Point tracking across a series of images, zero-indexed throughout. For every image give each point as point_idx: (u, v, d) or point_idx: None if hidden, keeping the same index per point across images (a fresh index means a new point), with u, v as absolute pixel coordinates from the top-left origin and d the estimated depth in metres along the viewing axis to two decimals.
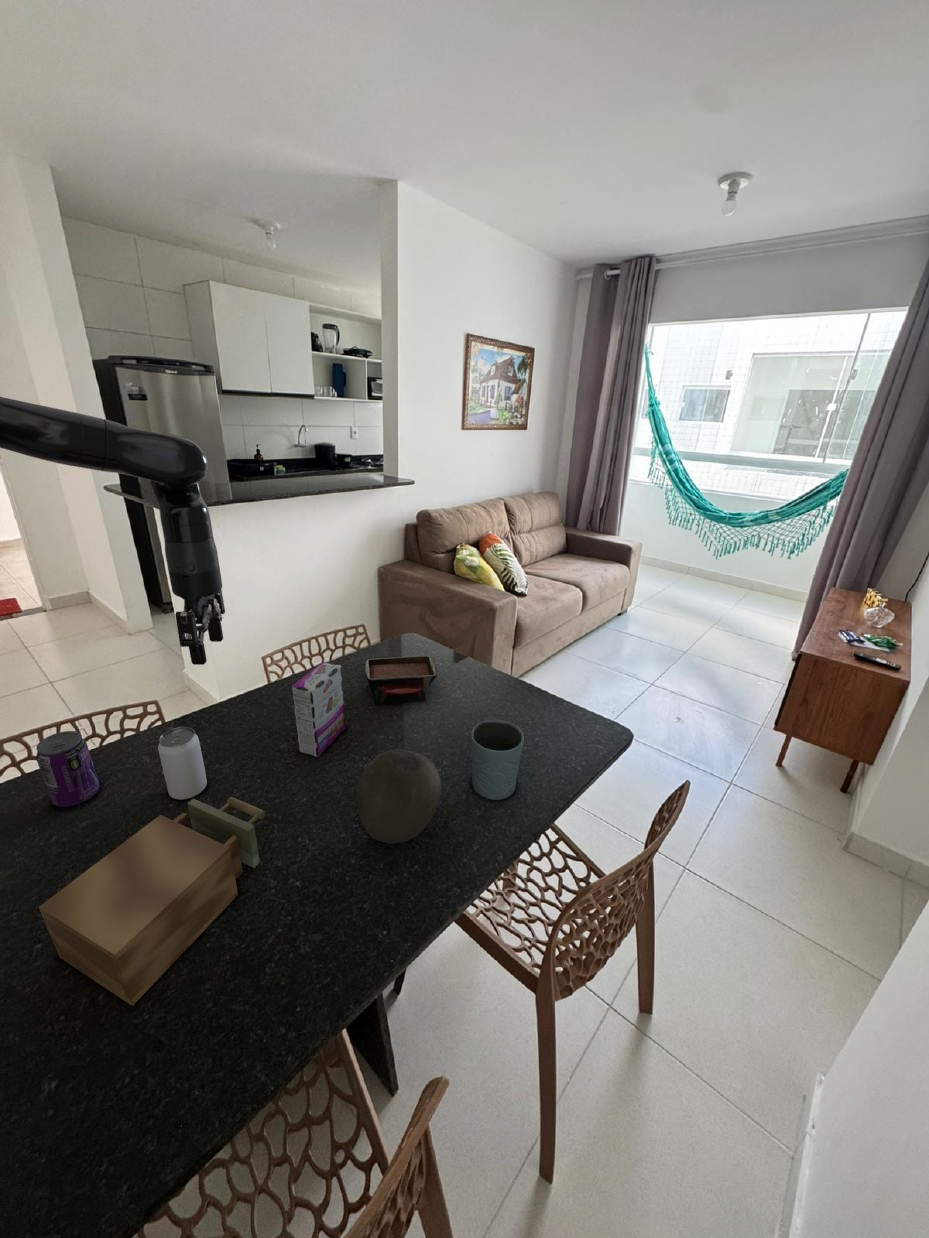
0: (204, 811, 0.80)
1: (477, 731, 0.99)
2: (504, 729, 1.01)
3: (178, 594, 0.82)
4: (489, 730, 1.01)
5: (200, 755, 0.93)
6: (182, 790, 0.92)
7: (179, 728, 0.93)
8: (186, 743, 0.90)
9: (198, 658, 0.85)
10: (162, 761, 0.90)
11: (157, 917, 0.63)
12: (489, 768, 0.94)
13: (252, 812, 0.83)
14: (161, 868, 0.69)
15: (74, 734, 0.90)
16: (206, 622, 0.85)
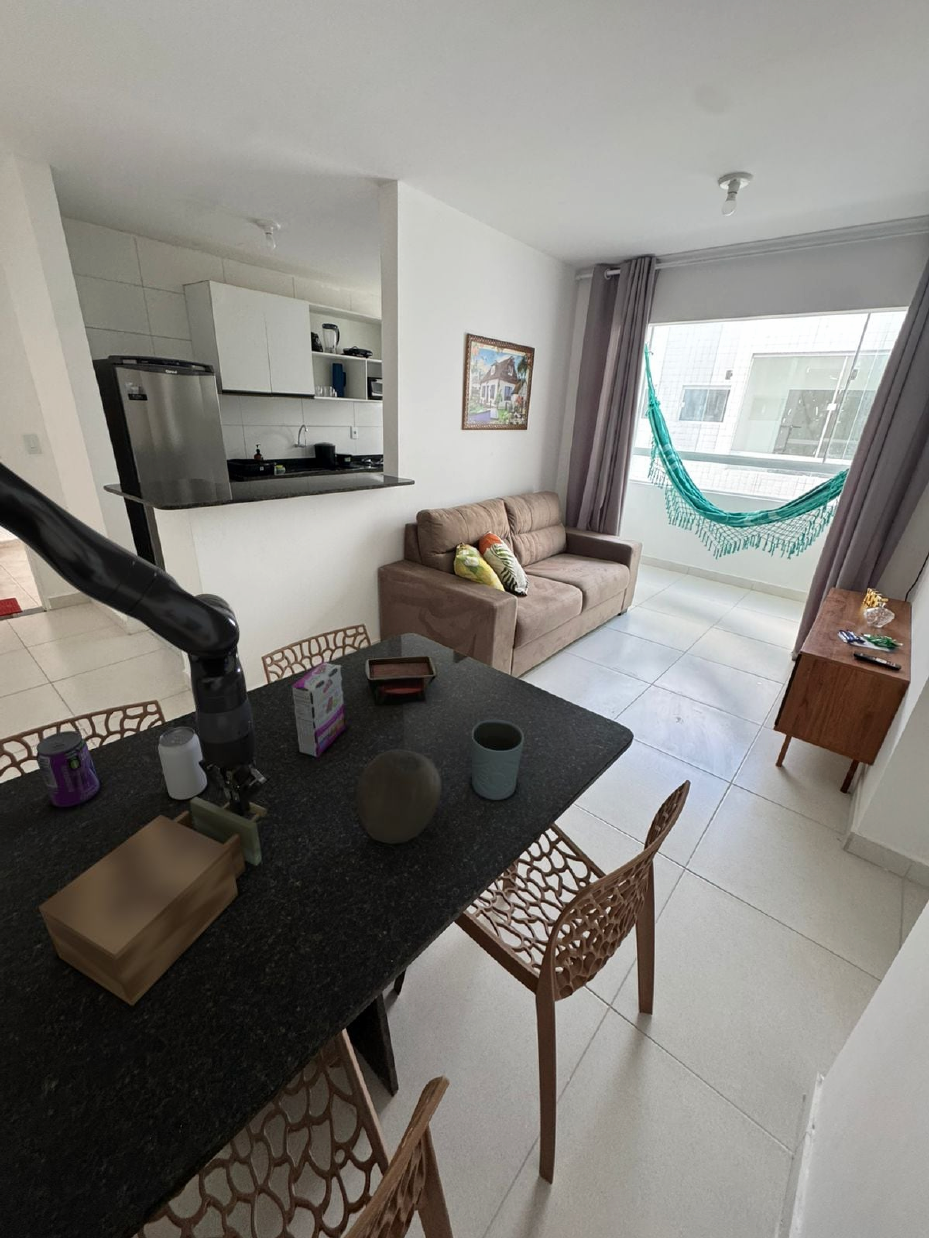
0: (206, 809, 0.80)
1: (477, 731, 0.99)
2: (504, 729, 1.01)
3: (237, 760, 0.75)
4: (489, 730, 1.01)
5: (200, 755, 0.93)
6: (182, 790, 0.92)
7: (179, 728, 0.93)
8: (186, 743, 0.90)
9: (248, 807, 0.83)
10: (162, 761, 0.90)
11: (157, 917, 0.63)
12: (489, 768, 0.94)
13: (254, 810, 0.84)
14: (161, 868, 0.69)
15: (74, 734, 0.90)
16: None
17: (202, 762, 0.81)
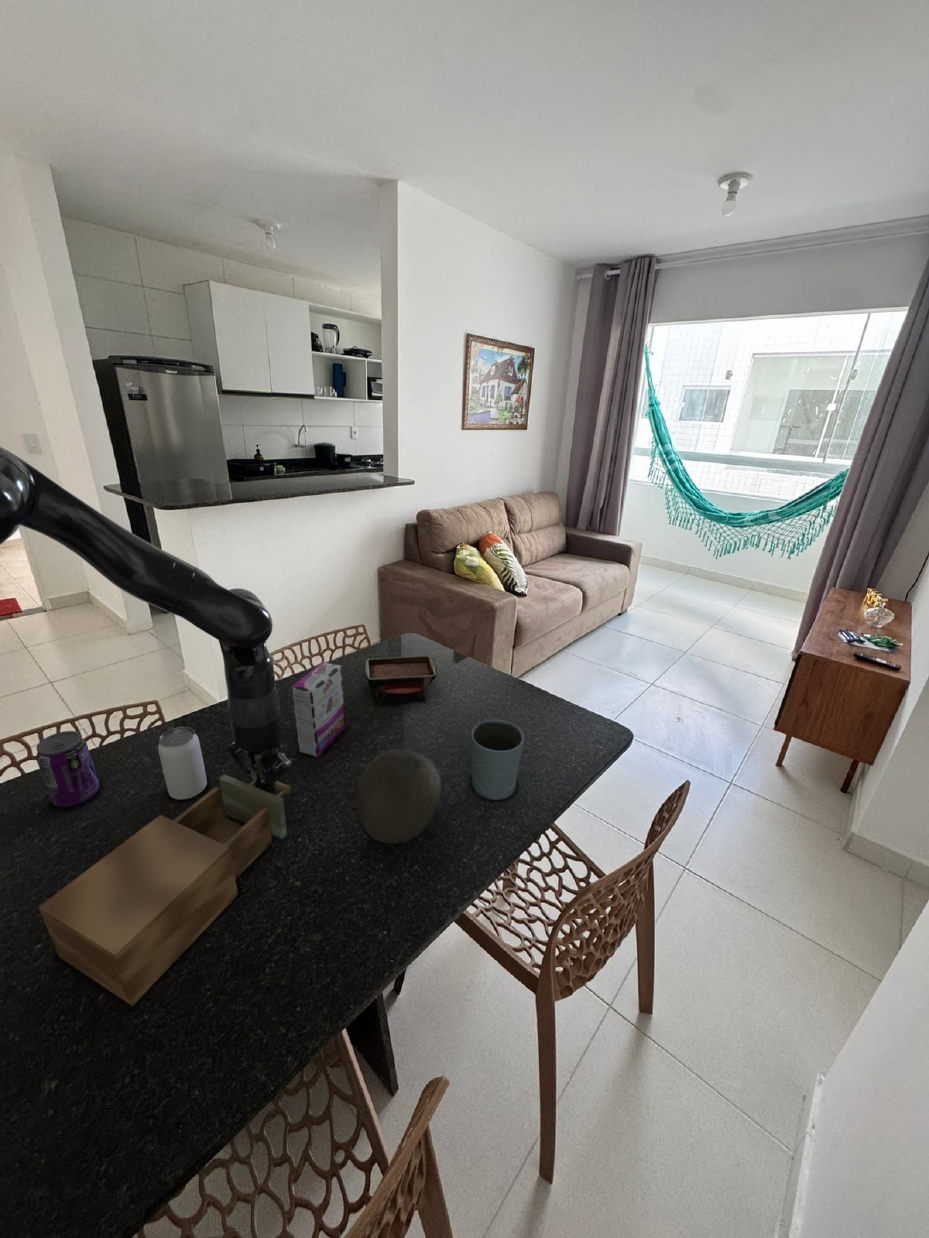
0: (235, 786, 0.85)
1: (477, 731, 0.99)
2: (504, 729, 1.01)
3: (265, 744, 0.81)
4: (489, 730, 1.01)
5: (200, 755, 0.93)
6: (182, 790, 0.92)
7: (179, 728, 0.93)
8: (186, 743, 0.90)
9: (273, 789, 0.88)
10: (162, 761, 0.90)
11: (157, 917, 0.63)
12: (489, 768, 0.94)
13: (279, 787, 0.89)
14: (161, 868, 0.69)
15: (74, 734, 0.90)
16: None
17: (231, 747, 0.86)
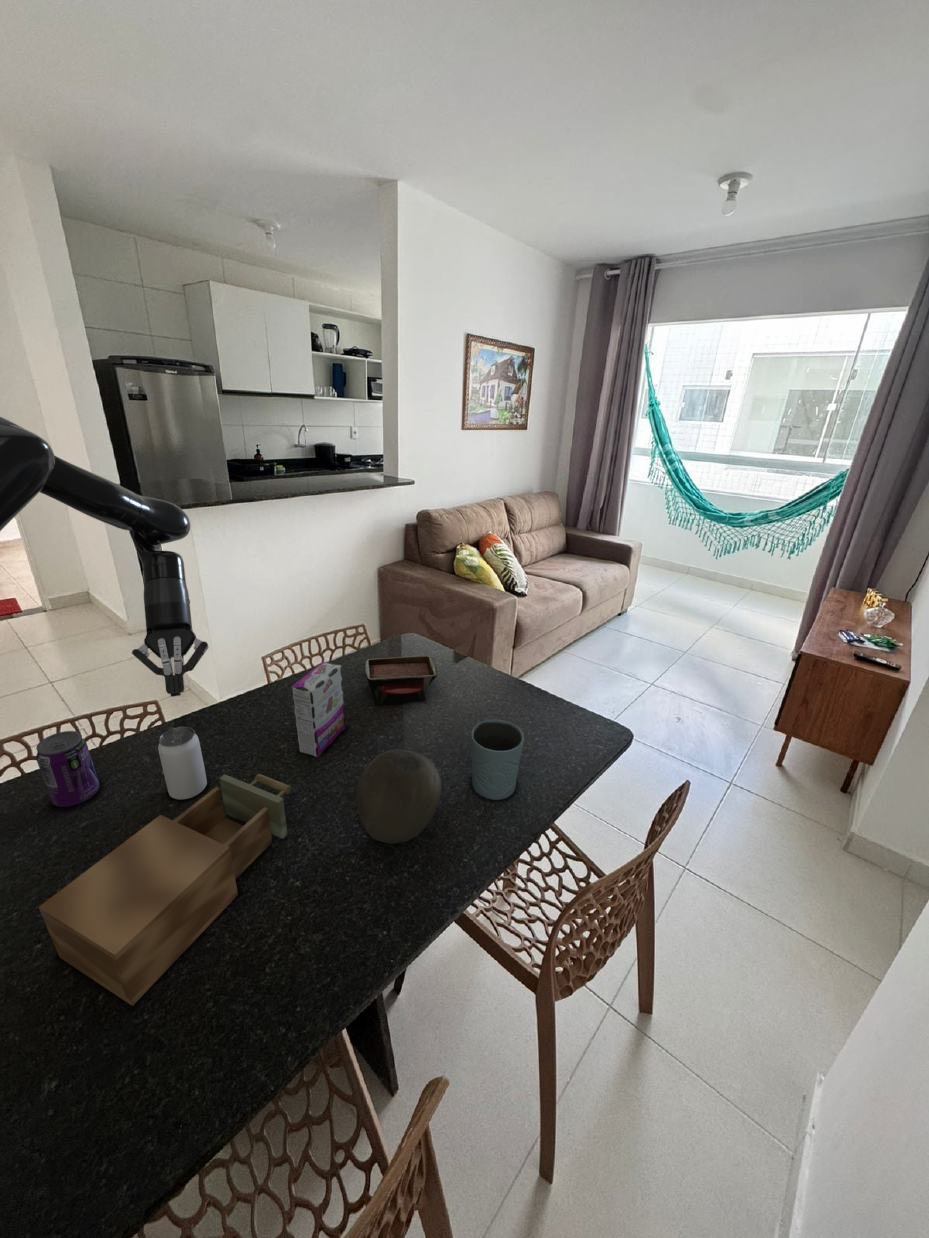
0: (235, 785, 0.85)
1: (477, 731, 0.99)
2: (504, 729, 1.01)
3: (187, 622, 0.97)
4: (489, 730, 1.01)
5: (200, 755, 0.93)
6: (182, 790, 0.92)
7: (179, 728, 0.93)
8: (186, 743, 0.90)
9: (183, 686, 0.96)
10: (162, 761, 0.90)
11: (157, 917, 0.63)
12: (489, 768, 0.94)
13: (280, 787, 0.89)
14: (161, 868, 0.69)
15: (74, 734, 0.90)
16: None
17: (137, 649, 0.93)
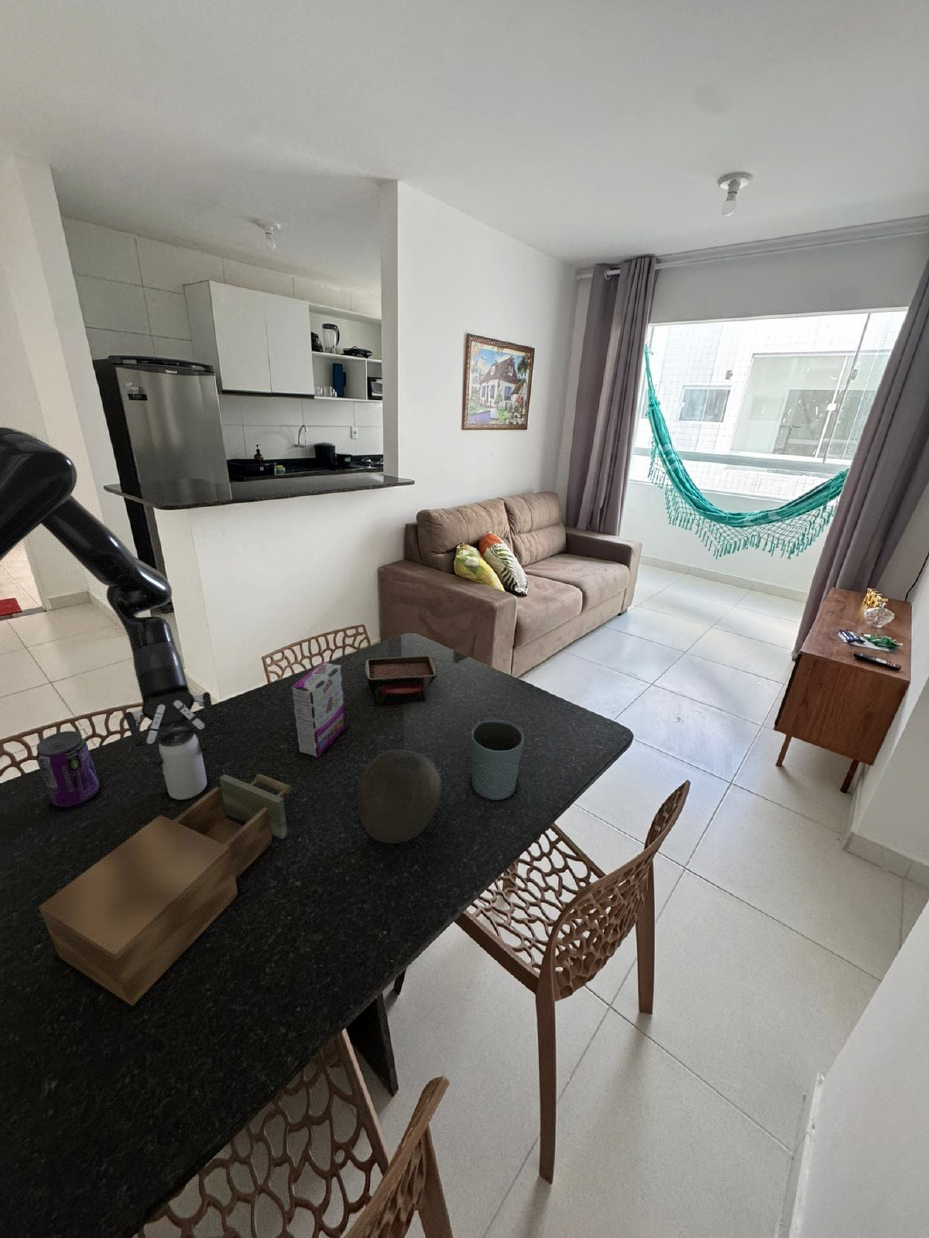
0: (235, 785, 0.85)
1: (477, 731, 0.99)
2: (504, 729, 1.01)
3: (185, 684, 0.94)
4: (489, 730, 1.01)
5: (200, 755, 0.93)
6: (182, 790, 0.92)
7: (179, 728, 0.93)
8: (186, 743, 0.90)
9: None
10: (162, 761, 0.90)
11: (157, 917, 0.63)
12: (489, 768, 0.94)
13: (280, 787, 0.89)
14: (161, 868, 0.69)
15: (74, 734, 0.90)
16: None
17: (131, 712, 0.89)
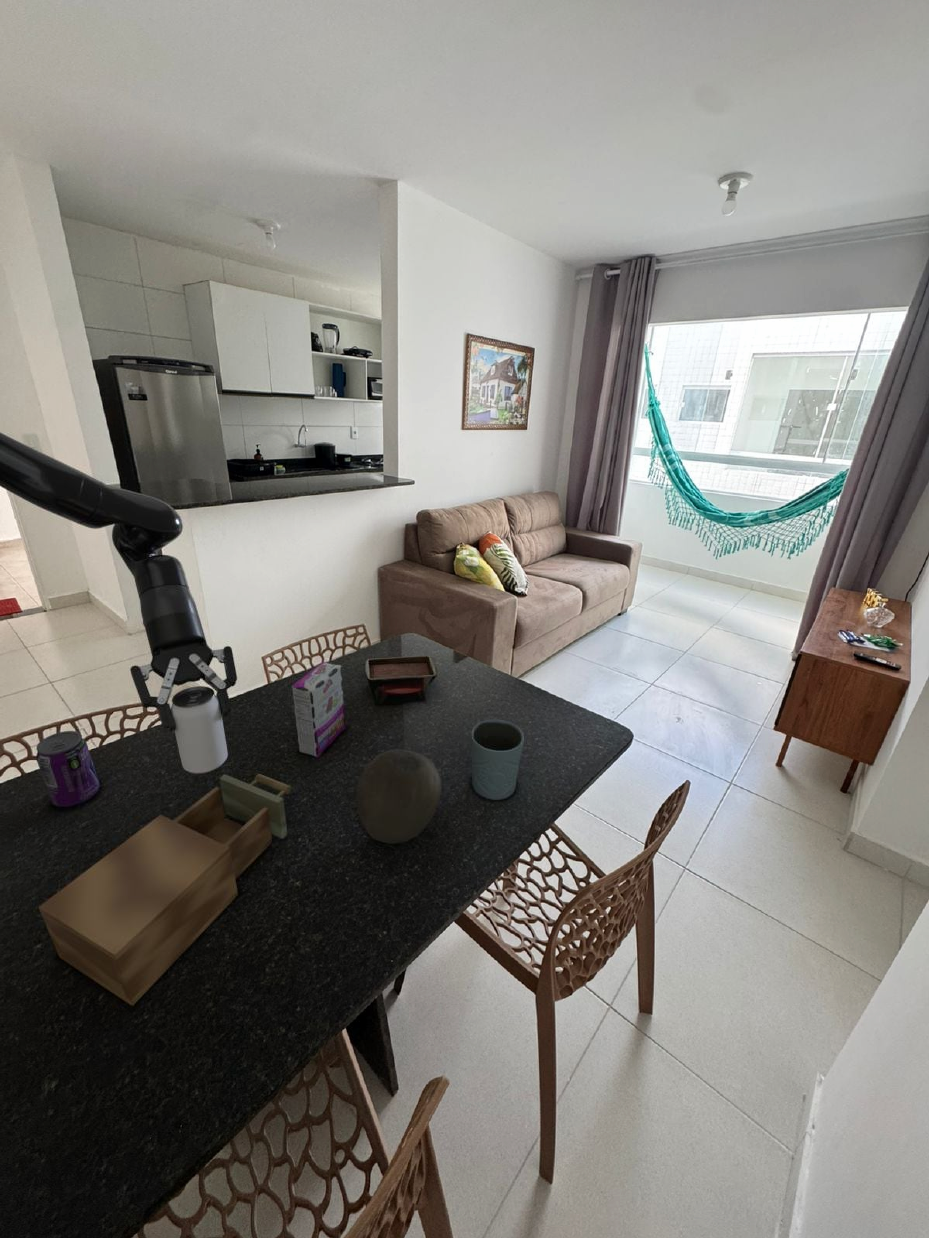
0: (235, 785, 0.85)
1: (477, 731, 0.99)
2: (504, 729, 1.01)
3: (202, 636, 0.79)
4: (489, 730, 1.01)
5: (221, 720, 0.78)
6: (199, 761, 0.76)
7: (195, 688, 0.78)
8: (205, 704, 0.74)
9: None
10: (175, 726, 0.74)
11: (157, 917, 0.63)
12: (489, 768, 0.94)
13: (280, 787, 0.89)
14: (161, 868, 0.69)
15: (74, 734, 0.90)
16: None
17: (138, 667, 0.74)
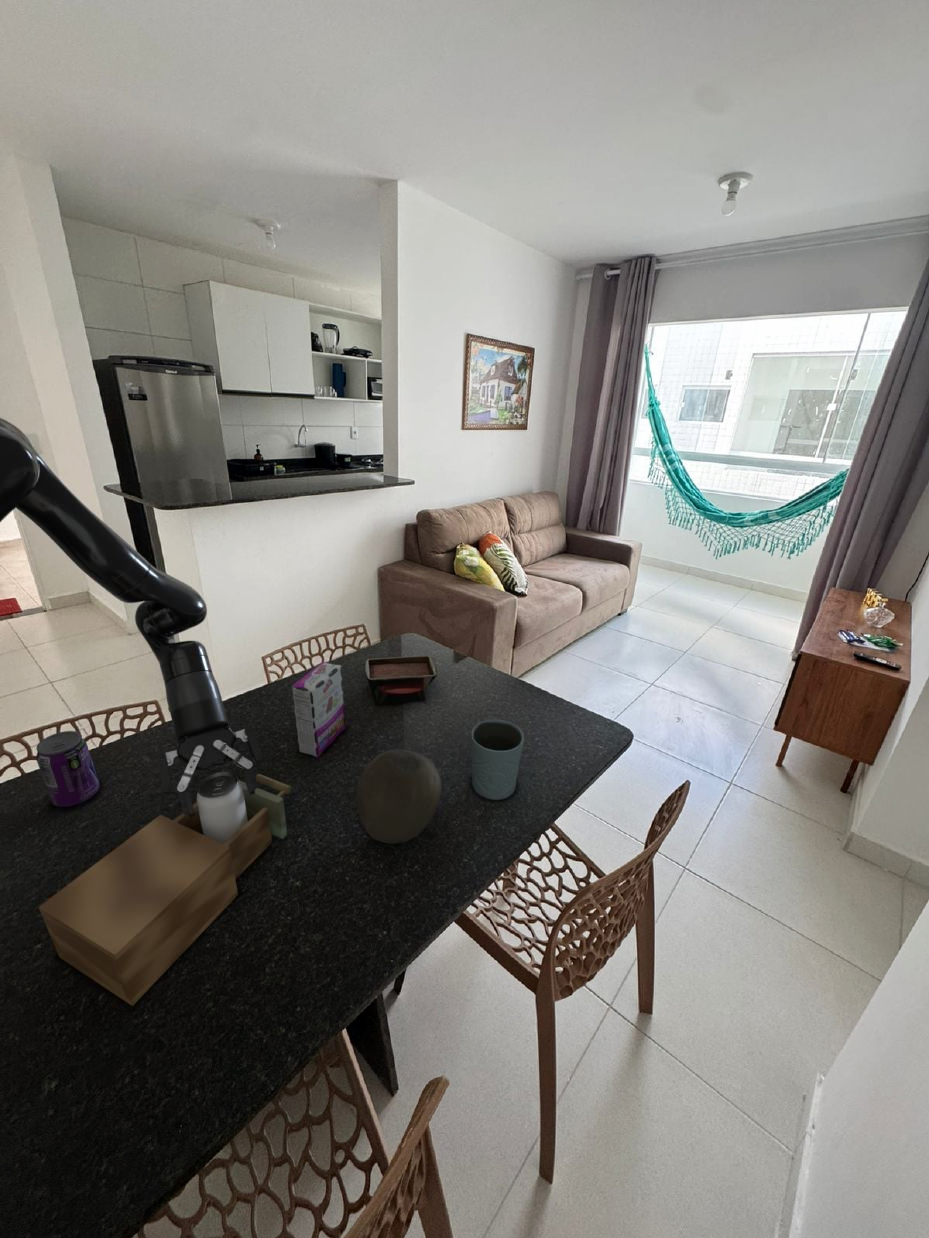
0: None
1: (477, 731, 0.99)
2: (504, 729, 1.01)
3: (225, 720, 0.81)
4: (489, 730, 1.01)
5: (244, 805, 0.80)
6: None
7: (219, 774, 0.80)
8: (229, 793, 0.77)
9: None
10: (201, 814, 0.77)
11: (157, 917, 0.63)
12: (489, 768, 0.94)
13: (280, 787, 0.89)
14: (161, 868, 0.69)
15: (74, 734, 0.90)
16: None
17: (165, 753, 0.76)
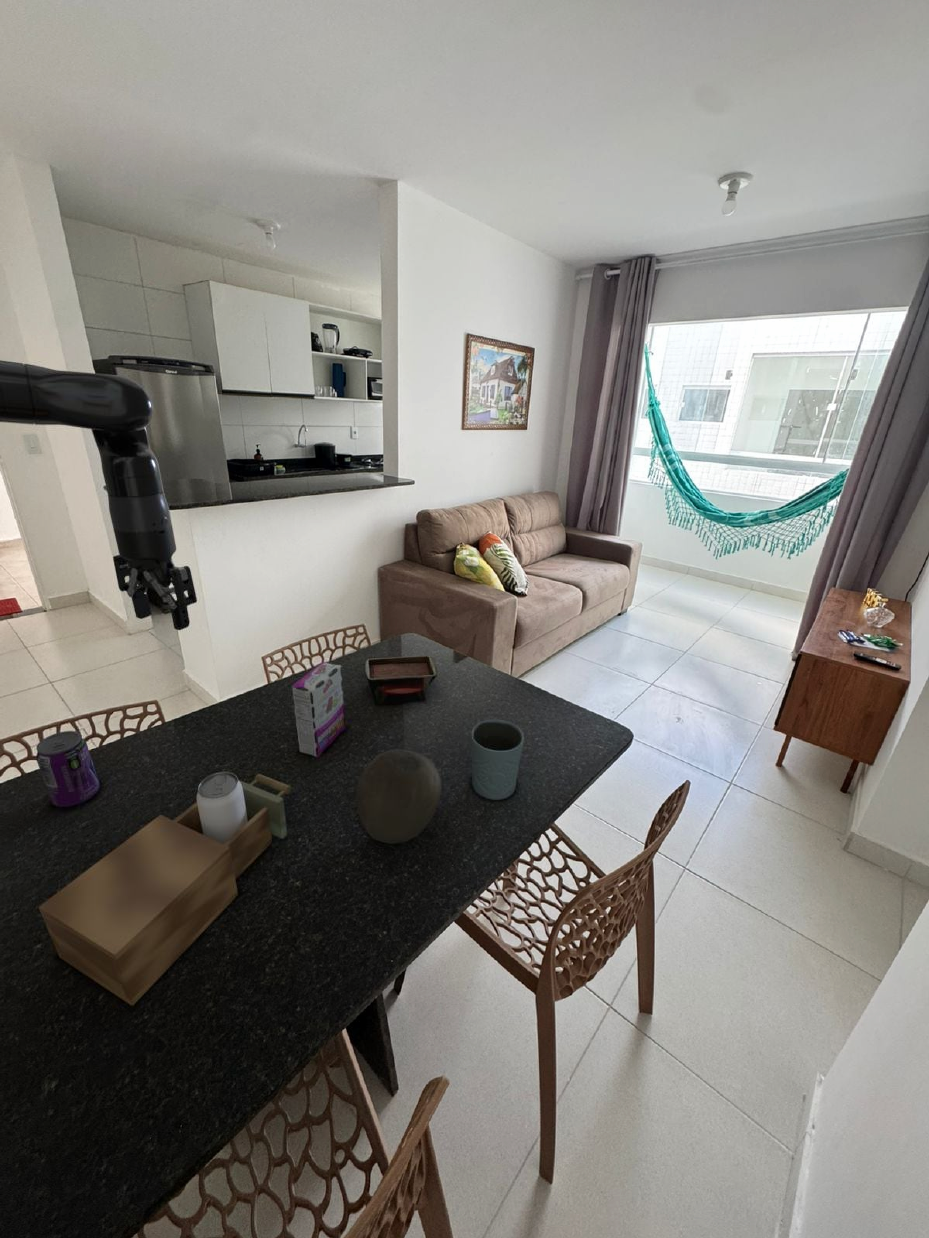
0: None
1: (477, 731, 0.99)
2: (504, 729, 1.01)
3: (152, 556, 0.75)
4: (489, 730, 1.01)
5: (244, 805, 0.80)
6: None
7: (219, 774, 0.80)
8: (229, 793, 0.77)
9: (187, 619, 0.80)
10: (201, 814, 0.77)
11: (157, 917, 0.63)
12: (489, 768, 0.94)
13: (280, 787, 0.89)
14: (161, 868, 0.69)
15: (74, 734, 0.90)
16: None
17: (118, 559, 0.79)
